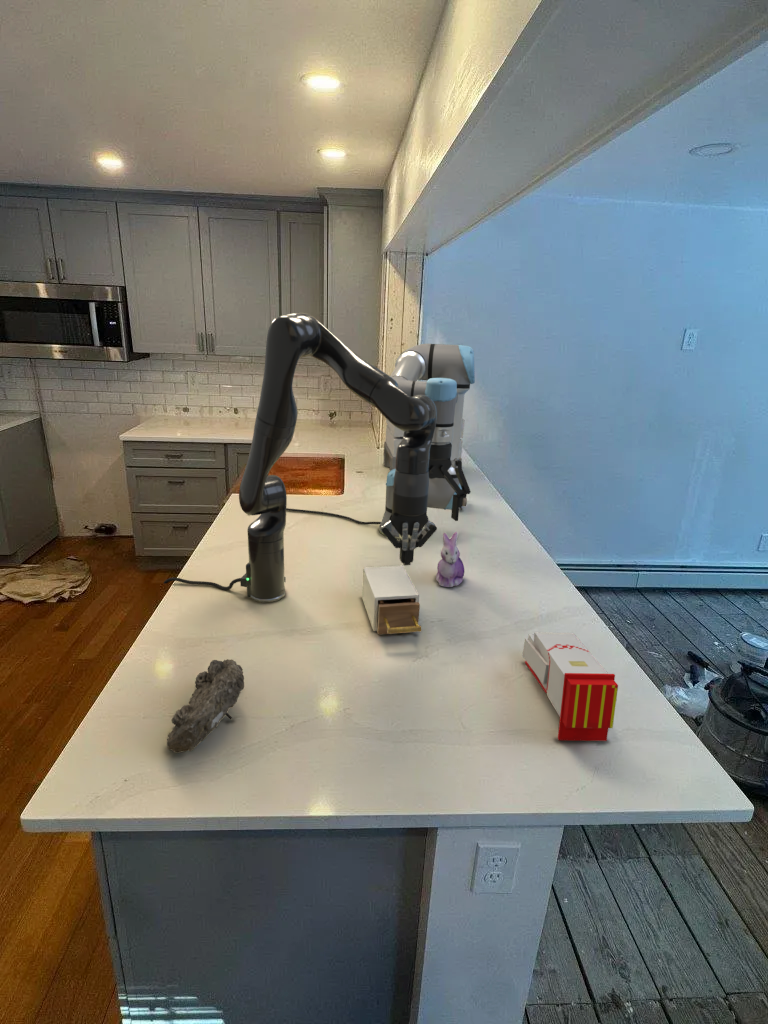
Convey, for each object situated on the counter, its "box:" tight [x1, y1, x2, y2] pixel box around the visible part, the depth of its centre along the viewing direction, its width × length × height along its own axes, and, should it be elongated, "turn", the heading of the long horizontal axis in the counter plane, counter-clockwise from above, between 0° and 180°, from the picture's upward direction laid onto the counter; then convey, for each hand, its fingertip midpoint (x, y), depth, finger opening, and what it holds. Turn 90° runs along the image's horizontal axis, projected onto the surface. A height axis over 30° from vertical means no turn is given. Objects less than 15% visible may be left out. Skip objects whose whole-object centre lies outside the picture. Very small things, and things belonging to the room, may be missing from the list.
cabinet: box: [361, 564, 420, 632], centre depth 146 cm, size 17×11×9 cm, turn 12°
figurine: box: [435, 531, 465, 588], centre depth 164 cm, size 9×10×15 cm
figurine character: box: [459, 494, 468, 511], centre depth 230 cm, size 7×8×15 cm
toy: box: [522, 631, 619, 742], centre depth 117 cm, size 12×13×30 cm
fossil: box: [166, 658, 245, 754], centre depth 106 cm, size 22×10×15 cm
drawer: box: [376, 598, 422, 635], centre depth 140 cm, size 22×10×8 cm, turn 12°
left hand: (406, 563), depth 127 cm, fingers closed
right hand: (431, 521), depth 149 cm, fingers open, 13 cm apart
